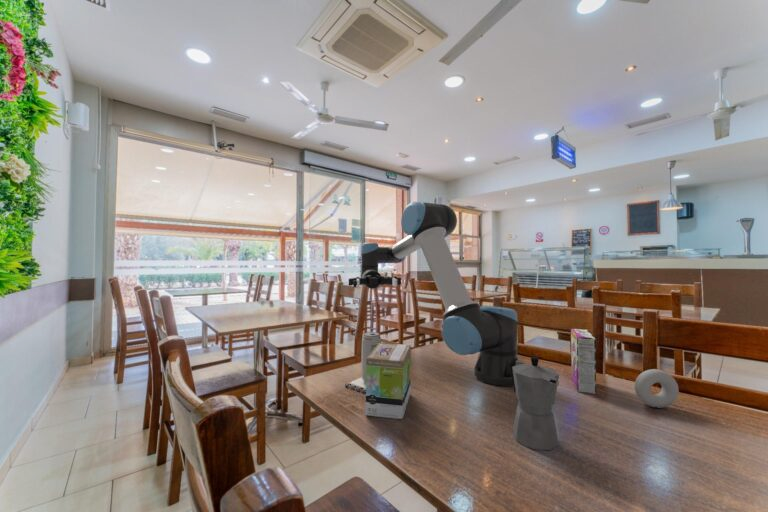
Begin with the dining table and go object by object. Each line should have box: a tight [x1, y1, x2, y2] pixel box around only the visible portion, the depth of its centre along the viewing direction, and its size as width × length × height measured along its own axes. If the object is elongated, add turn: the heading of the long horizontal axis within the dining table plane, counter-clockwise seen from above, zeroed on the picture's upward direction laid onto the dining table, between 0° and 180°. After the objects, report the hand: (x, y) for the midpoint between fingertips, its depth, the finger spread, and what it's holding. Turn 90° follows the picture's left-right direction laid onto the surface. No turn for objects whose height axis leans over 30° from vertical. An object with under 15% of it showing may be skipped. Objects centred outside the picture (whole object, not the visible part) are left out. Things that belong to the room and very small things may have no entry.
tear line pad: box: [344, 376, 366, 394], centre depth 101 cm, size 10×12×1 cm
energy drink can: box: [361, 331, 382, 383], centre depth 101 cm, size 6×6×15 cm
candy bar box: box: [570, 328, 597, 395], centre depth 99 cm, size 11×5×16 cm, turn 158°
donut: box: [634, 368, 680, 409], centre depth 85 cm, size 10×4×10 cm, turn 83°
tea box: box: [365, 342, 412, 420], centre depth 87 cm, size 15×10×15 cm, turn 168°
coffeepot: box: [509, 356, 560, 451], centre depth 72 cm, size 15×9×18 cm, turn 13°
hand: (377, 283), depth 116 cm, fingers open, 13 cm apart
